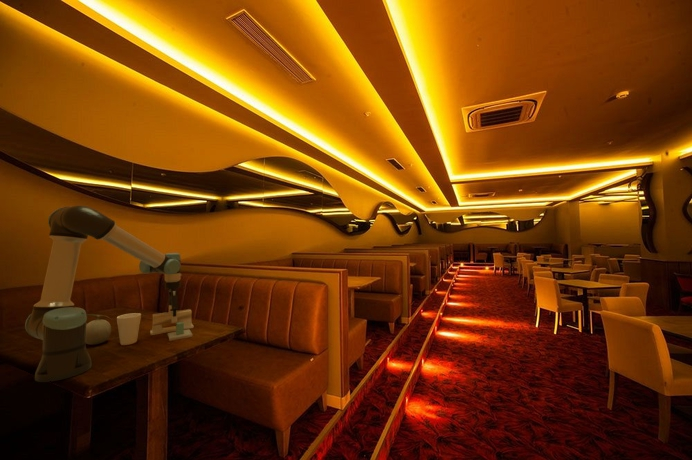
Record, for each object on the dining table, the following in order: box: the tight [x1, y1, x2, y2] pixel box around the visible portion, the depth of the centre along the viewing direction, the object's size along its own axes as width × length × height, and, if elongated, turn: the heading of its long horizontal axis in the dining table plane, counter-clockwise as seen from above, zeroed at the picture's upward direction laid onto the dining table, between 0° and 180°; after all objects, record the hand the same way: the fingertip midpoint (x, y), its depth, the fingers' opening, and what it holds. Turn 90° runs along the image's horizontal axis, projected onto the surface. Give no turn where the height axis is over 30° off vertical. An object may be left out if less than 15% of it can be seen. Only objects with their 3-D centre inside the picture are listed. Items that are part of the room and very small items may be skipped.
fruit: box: [86, 313, 112, 346], centre depth 137 cm, size 10×12×15 cm
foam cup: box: [116, 312, 142, 346], centre depth 138 cm, size 10×9×13 cm
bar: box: [152, 308, 193, 327], centre depth 156 cm, size 5×18×5 cm, turn 127°
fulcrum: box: [167, 321, 193, 342], centre depth 146 cm, size 10×10×7 cm
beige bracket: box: [149, 320, 195, 336], centre depth 156 cm, size 6×20×4 cm, turn 127°
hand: (172, 319), depth 156 cm, fingers open, 13 cm apart
